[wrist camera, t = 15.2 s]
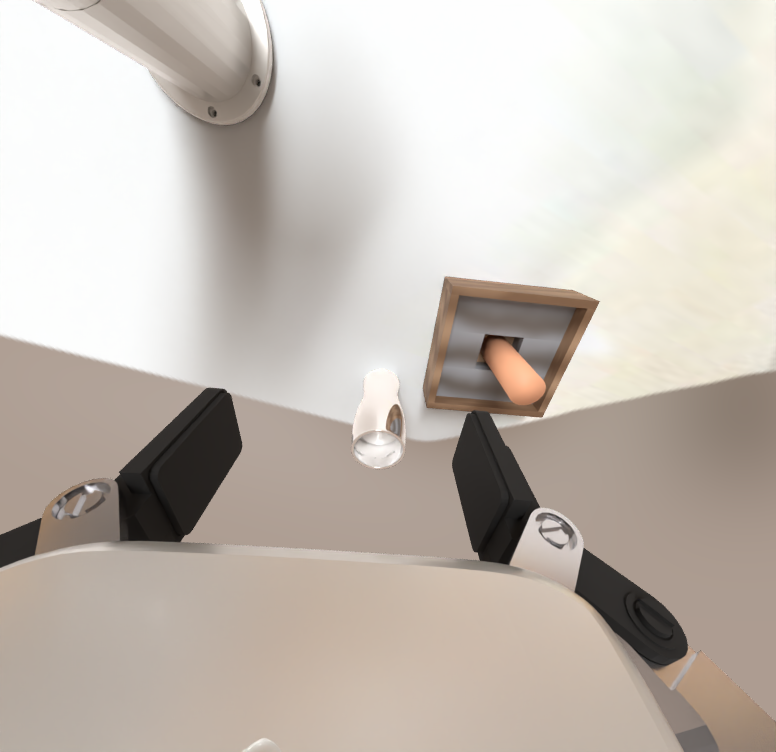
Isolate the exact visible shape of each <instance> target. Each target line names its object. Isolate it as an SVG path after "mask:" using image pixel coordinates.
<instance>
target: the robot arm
mask: <svg viewBox="0 0 776 752" xmlns="http://www.w3.org/2000/svg"><path fill="white" fill-rule="evenodd" d="M33 1H35V2H36V3H38V4H40V5H41V6H43V7H45V8H47V9H48V10H50V11H52V12H53V13H55V14H57V15H58V16H60V17H62V18H63V19H65V20H67V21H68V22H70V23H72V24H73V25H75V26H77V27H78V28H80V29H82V30H83V31H85V32H87V33H89V34H90V35H92V36H94V37H95V38H97V39H99V40H100V41H102V42H104V43H105V44H107V45H109V46H110V47H112V48H114V49H115V50H117V51H119V52H120V53H122V54H124V55H126V56H127V57H129V58H131V59H132V60H134V61H136V62H137V63H139V64H141V65H142V66H144V67H146V68H147V69H148V70H149V72H150V74H151V75H152V77H153V78H154V80H155V81H156V82H157V84H158V85H159V86H160V88H161V89H162V90H163V91H164V92H165V93H166V94H167V95H168V96H169V97H170V98H171V99H172V100H173V101H174V103H176V104H177V105H178V106H180V107H181V108H182V109H184V110H185V111H186V112H188V113H190V114H191V115H193V116H195V117H197V118H199V119H201V120H204V121H206V122H209V123H212V124H218V125H233V124H236V123H239V122H242V121H244V120H245V119H247V118H248V117H250V116H251V115H252V114H253V113H254V112H255V111H256V110H257V109H258V107H259V106H260V105H261V103H262V101H263V99H264V97H265V95H266V93H267V90H268V86H269V83H270V80H271V72H272V65H273V58H272V40H271V33H270V27H269V23H268V19H267V16H266V12H265V8H264V6H263V3H262V1H261V0H33ZM258 81H261V85H260V86H259V87H258V85H257V84H258ZM215 112H217V116H216V117H215ZM241 449H242V441H241V436H240V432H239V428H238V423H237V419H236V415H235V410H234V406H233V402H232V397H231V395H230V393H227V391H226V390H225V389H219V388H206V389H205V390H204V391H203V392H202V393H201V394H200V395H199V396H198V397H197V398H196V399H195V400H194V401H193V402H191V403H190V405H189V406H187V407H186V408H185V409H184V410H183V411H182V412H181V413H180V414H179V415H178V416H177V417H176V418H175V419H174V420H173V421H172V422H171V423H170V424H169V425H168V426H166V427H165V428H164V429H163V431H161V432H160V433H159V434H158V435H157V436H156V437H155V438H154V439H153V440H152V441H151V442H150V443H149V444H148V445H147V446H146V447H145V448H144V449H142V450H141V451H140V452H139V453H138V454H137V455H136V456H135V457H134V458H133V459H132V460H131V461H130V462H129V463H128V464H127V465H126V466H125V467H124V468H123V469H122V470H121V471H120V472H119V473H120V475H119V476H118V477H117V478H116V479H115V480H112V479H109V478H97V479H92V480H88V481H84V482H82V483H79V484H77V485H75V486H72V487H71V488H69V489H67V490H65V491H64V492H62V493H61V494H59V495H58V496H57V497H56V498H54V499H53V500H52V501H51V502H50V503H49V504H48V506H47V507H46V508H45V510H44V513H43V515H42V518H40V519H38V520H35V521H33V522H30V523H28V524H26V525H23V526H21V527H18V528H16V529H13V530H11V531H9V532H6V533H4V534H1V535H0V752H776V722H775V720H773V719H772V718H771V717H770V716H769V715H768V714H767V713H766V712H765V711H764V710H763V709H762V708H761V707H760V706H759V705H758V704H757V703H755V701H754V700H752V699H751V698H750V697H749V696H748V695H747V694H746V693H745V692H744V691H743V690H742V689H741V688H740V687H739V686H738V685H737V684H736V683H735V682H733V681H732V680H731V679H730V678H729V677H728V676H727V675H726V674H725V673H724V672H723V671H722V670H721V669H720V668H719V667H718V666H717V665H716V664H714V663H713V661H711V660H710V659H709V658H708V657H707V656H706V655H705V654H704V653H703V652H702V651H699V652H697V653H696V652H695V651H694V650H693V649H692V648H691V647H690V646H689V645H688V644H687V639H686V636H685V634H684V632H683V630H682V628H681V626H680V625H679V623H678V622H677V620H676V619H675V618H674V616H673V615H672V614H671V613H670V612H669V611H668V610H667V609H666V608H665V607H664V605H662V604H661V603H660V602H659V601H657V600H656V599H655V598H654V597H652V596H651V595H650V594H648V593H647V592H645V591H644V590H643V589H641V588H640V587H638V586H637V585H636V584H634V583H633V582H631V581H630V580H628V579H627V578H626V577H624V576H623V575H621V574H620V573H618V572H617V571H616V570H614V569H613V568H611V567H610V566H609V565H607V564H605V563H604V562H603V561H602V560H600V559H599V558H597V557H596V556H594V555H593V554H591V553H590V552H589V551H587V550H586V549H585V548H583V539H582V536H581V534H580V532H579V531H578V529H577V528H576V526H575V525H574V524H573V523H572V522H571V521H570V520H569V519H568V518H566V517H565V516H563V515H562V514H560V513H559V512H557V511H554V510H552V509H548V508H540V506H539V504H538V503H537V500H536V498H535V497H534V495H533V493H532V491H531V489H530V487H529V485H528V483H527V481H526V479H525V477H524V475H523V473H522V471H521V469H520V467H519V465H518V464H517V461H516V460H515V457H514V455H513V454H512V452H511V450H510V449H509V447H507V446H505V444H504V442H503V440H502V438H501V436H500V434H499V432H498V430H497V428H496V426H495V424H494V422H493V420H492V418H491V416H490V414H489V412H487V411H478V410H473V411H472V412H471V413H468V414H467V416H466V419H465V422H464V425H463V429H462V432H461V435H460V438H459V441H458V444H457V448H456V451H455V454H454V457H453V462H452V468H453V472H454V476H455V480H456V484H457V488H458V492H459V496H460V500H461V505H462V509H463V513H464V516H465V521H466V525H467V529H468V532H469V537H470V541H471V545H472V548H473V551H474V552H478V555H479V559H480V561H477V560H465V559H453V558H441V557H427V556H411V555H395V554H380V553H365V552H348V551H331V550H314V549H297V548H279V547H260V546H243V545H242V546H241V545H223V544H204V543H184V542H181V540H182V538H183V537H184V536H185V535H188V534H189V533H190V532H191V531H192V530H193V528H194V527H195V525H196V523H197V522H198V520H199V518H200V517H201V515H202V514H203V512H204V510H205V509H206V507H207V506H208V504H209V502H210V501H211V499H212V498H213V496H214V494H215V493H216V491H217V489H218V488H219V486H220V485H221V483H222V481H223V480H224V478H225V477H226V475H227V473H228V472H229V470H230V469H231V467H232V465H233V464H234V462H235V460H236V459H237V457H238V456H239V454H240V452H241Z"/></svg>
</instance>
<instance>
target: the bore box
mask: <svg viewBox="0 0 776 752" xmlns="http://www.w3.org/2000/svg"><path fill="white" fill-rule="evenodd" d="M599 302H600V301H597V300H595V299H593V298H590V297H588V296H586V295H583V294H581V293H578V292H576V291H574V290H565V289H556V288H547V287H538V286H528V285H519V284H510V283H501V282H491V281H482V280H473V279H464V278H455V277H445V279H444V284H443V289H442V294H441V299H440V304H439V309H438V314H437V319H436V324H435V329H434V334H433V339H432V344H431V349H430V354H429V359H428V364H427V369H426V374H425V379H424V384H423V391H424V397H425V402H426V407H427V408H436V409H448V410H460V411H471V412H472V411H473V410H478V411H487V412H489V413H495V414H507V415H519V416H530V417H543V415H544V413H545V411H546V409H547V407H548V405H549V403H550V401H551V399H552V397H553V395H554V393H555V390H556V388H557V386H558V384H559V382H560V380H561V378H562V376H563V374H564V372H565V370H566V368H567V366H568V364H569V362H570V360H571V358H572V356H573V354H574V352H575V350H576V348H577V346H578V344H579V342H580V340H581V338H582V336H583V334H584V332H585V330H586V328H587V326H588V324H589V322H590V320H591V318H592V316H593V314H594V312H595V310H596V308H597V306H598V304H599ZM488 335H500V336H503V337H504V338H505V339H506V340H507V341H508V342H509V343H510V344H511V346H512V347H513V348H514V349H515V350H516V351H517V352H518V353H519V354H520V355H521V356H522V358H523V359H524V360H525V361H526V362H527V363H528V364H529V365H530V366H531V367H532V368H533V370H534V371H535V372H536V373H537V374H538V375H539V376H540V377H541V378H542V379H543V380H544V382H545V385H546V389H545V392H544V394H543V396H542V397H541V398H540V399H539V400H537V401H536V402H534V403H532V404H529V405H517V404H515V403H513V402H512V401H511V400H510V398H509V397H508V395H507V394H506V392H505V390H504V389H503V387H502V386H501V384H500V383H499V381H498V380H497V378H496V377H495V375H494V373H493V372H492V370H491V369H490V367H489V366H488V364H487V363H486V361H485V360H484V358H483V356H482V355H481V353H480V349H481V346H482V342H483V339H484V338H485V337H486V336H488Z"/></svg>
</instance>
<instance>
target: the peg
mask: <svg viewBox="0 0 776 752" xmlns="http://www.w3.org/2000/svg"><path fill="white" fill-rule="evenodd" d="M480 353H481V355H482V356H483V358H484V360H485V361H486V363H487V364H488V366H489V367H490V369H491V370H492V372H493V373H494V375H495V377H496V378H497V380H498V381H499V383H500V384H501V386H502V387H503V389H504V390H505V392H506V394H507V395H508V397H509V398H510V400H511V401H512V402H513V403H515V404H517V405H529V404H532V403H534V402H536V401H537V400H539V399H540V398H541V397H542V396H543V394H544V392H545V389H546V385H545V382H544V380H543V379H542V378H541V377H540V376H539V375H538V374H537V373H536V372H535V371H534V370H533V368H532V367H531V366H530V365H529V364H528V363H527V362H526V361H525V360H524V359H523V358H522V356H521V355H520V354H519V353H518V352H517V351H516V350H515V349H514V348H513V347H512V346H511V344H510V343H509V342H508V341H507V340H506V339H505V338H504V337H503V336H500V335H488V336H486V337H485V338H484V339H483V342H482V346H481V349H480Z"/></svg>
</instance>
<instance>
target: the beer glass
mask: <svg viewBox="0 0 776 752" xmlns="http://www.w3.org/2000/svg"><path fill="white" fill-rule="evenodd" d="M399 385H400V383H399V379H398V377H397V376H396V375H395V374H394V373H393V372H392V371H390V370H387V369H375V370H372V371H370V372H369V373H368V374H367V375H366V376H365V378H364V380H363V389H364V396H363V398H362V400H361V402H360V405H359V407H358V409H357V412H356V415H355V418H354V423H353V430H352V446H351V453H352V455H353V457H354V459H355V460H356V461H357V462H358V463H359V464H361V465H363V466H365V467H367V468H371V469H386V468H390V467H393V466H395V465H396V464H398V463H399V462H400V461H401V460H402V459H403V457H404V455H405V440H406V427H405V418H404V414H403V410H402V408H401V405H400V402H399V399H398V390H399Z"/></svg>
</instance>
